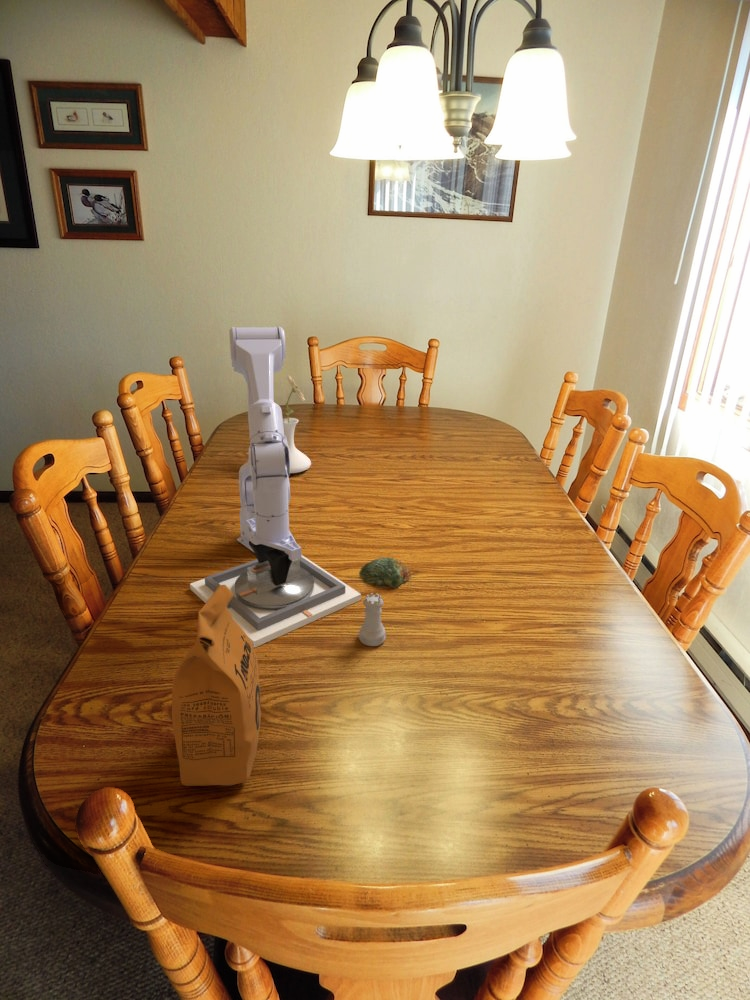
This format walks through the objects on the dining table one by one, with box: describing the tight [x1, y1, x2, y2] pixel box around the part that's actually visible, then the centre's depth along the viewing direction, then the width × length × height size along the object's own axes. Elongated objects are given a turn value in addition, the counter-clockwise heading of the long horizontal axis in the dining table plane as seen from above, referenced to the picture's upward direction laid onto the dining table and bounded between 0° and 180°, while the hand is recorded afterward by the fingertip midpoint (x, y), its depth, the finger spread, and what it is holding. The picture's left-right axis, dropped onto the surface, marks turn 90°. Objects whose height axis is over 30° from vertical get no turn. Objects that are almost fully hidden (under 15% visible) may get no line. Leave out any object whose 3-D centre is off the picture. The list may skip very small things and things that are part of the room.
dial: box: [235, 558, 314, 610], centre depth 111 cm, size 14×14×5 cm
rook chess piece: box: [358, 592, 387, 647], centre depth 100 cm, size 4×4×8 cm
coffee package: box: [171, 585, 262, 787], centre depth 74 cm, size 10×12×22 cm
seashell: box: [359, 557, 413, 589], centre depth 119 cm, size 10×4×10 cm
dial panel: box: [189, 554, 362, 649], centre depth 112 cm, size 22×22×3 cm
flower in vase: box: [282, 375, 312, 474], centre depth 165 cm, size 13×11×25 cm
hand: (274, 579), depth 111 cm, fingers closed on dial, 3 cm apart
